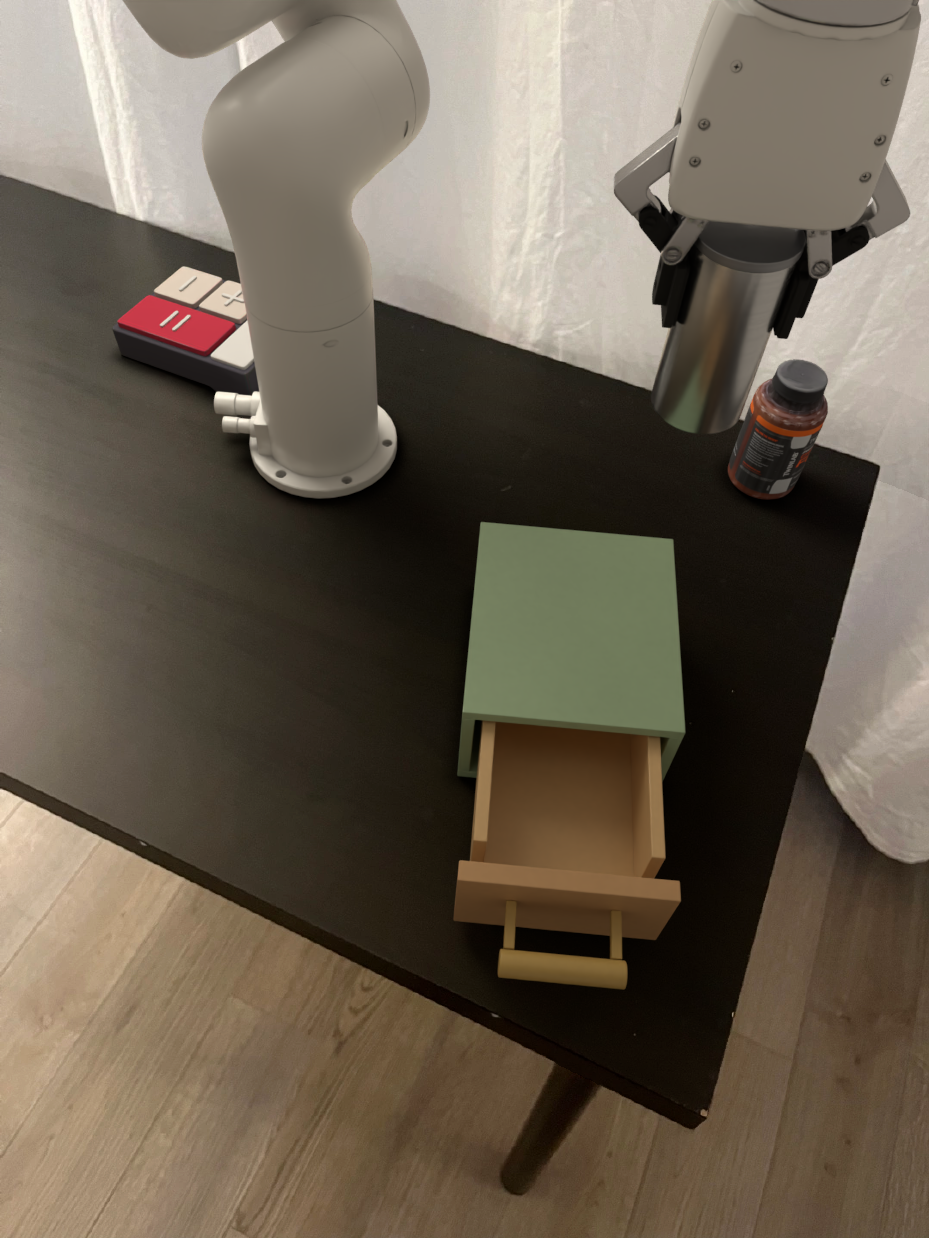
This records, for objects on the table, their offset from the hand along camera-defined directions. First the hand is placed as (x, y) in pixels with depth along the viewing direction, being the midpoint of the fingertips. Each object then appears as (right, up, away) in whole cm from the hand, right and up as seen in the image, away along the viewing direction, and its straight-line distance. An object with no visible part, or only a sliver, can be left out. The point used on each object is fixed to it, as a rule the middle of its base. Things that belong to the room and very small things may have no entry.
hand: (723, 316), depth 56 cm
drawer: (-9, -33, +6) cm, 34 cm away
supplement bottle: (+11, -5, +28) cm, 30 cm away
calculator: (-38, +8, +35) cm, 52 cm away
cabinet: (-8, -23, +14) cm, 28 cm away
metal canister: (0, -4, +5) cm, 7 cm away
